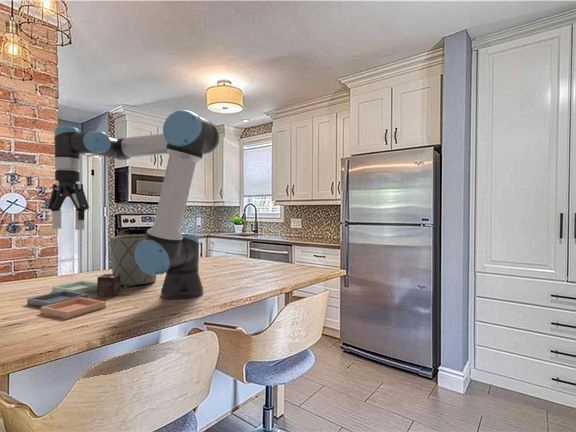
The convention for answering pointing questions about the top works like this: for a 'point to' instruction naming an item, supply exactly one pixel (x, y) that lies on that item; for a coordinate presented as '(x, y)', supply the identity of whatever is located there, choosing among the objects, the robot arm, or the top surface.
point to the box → (108, 285)
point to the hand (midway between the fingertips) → (68, 229)
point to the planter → (128, 260)
